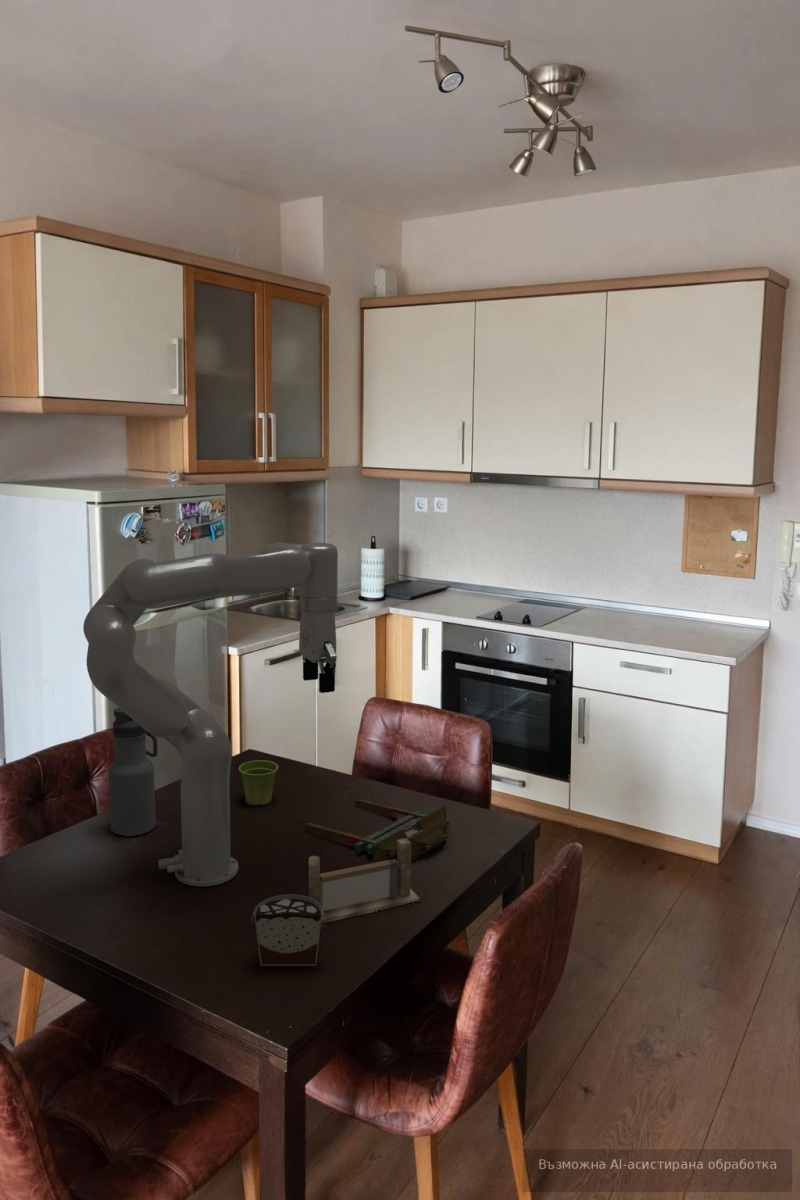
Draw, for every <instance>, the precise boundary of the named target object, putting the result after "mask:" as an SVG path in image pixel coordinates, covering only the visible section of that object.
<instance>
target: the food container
mask: <svg viewBox="0 0 800 1200" xmlns="http://www.w3.org/2000/svg"><path fill="white" fill-rule="evenodd" d="M322 916H323V919H324V923H323V924H326V923H325V917H324V912H323V909H322V907H321V905H320V904H319V903H318V902H317V901H316V900H314V899H312V898H310V897H309V896H306V895H302V894H281V895H280V894H279V895H275V896H272V897H269V898H267V899H264V900H263V901H261V902H260V903H259V904H258V905H256V906H255V908H254V911H253V914H252V917H251V922H250V923H253V922H254V924H255V934H256V939H257V948H258V956H259V964H260V966H262V967H263V966H264V967H267V966H268V967H277V966H279V967H283V966H284V967H286V966H287V967H289V966H290V967H292V966H293V967H297V966H298V967H299V966H300V967H301V966H302V967H305V966H306V967H307V966H308V967H309V966H310V967H313V966H315V967H316V966H317V962H318V954H319V944H320V936H321V927H322V924H321V921H322Z"/></svg>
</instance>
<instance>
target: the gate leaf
mask: <svg viewBox="0 0 800 1200" xmlns="http://www.w3.org/2000/svg"><path fill="white" fill-rule="evenodd" d="M397 868H398V862H397V859H395V858H391V859H389V860H387V861H382V862H377V863H373V862H372V863H368V864H362V865H358V866H352V867H348V868H347V867H346V868H343V869H337V870H332V871H326V872H322V873H321V872H320V905H321V907H322V909H323V911H326V910H330V909H335V908H340V907H344V906H349V905H353V904H358V903H363V902H367V901H372V900H377V899H381V898H386V897H393V896H397Z"/></svg>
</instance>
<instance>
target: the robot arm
mask: <svg viewBox="0 0 800 1200" xmlns="http://www.w3.org/2000/svg"><path fill="white" fill-rule="evenodd" d="M338 557H339V555H338V548H337V547H336V546H335V545H334V544H332V543H329V542H327V543H326V542H310V543H305V544H303V543H302V544H300V543H288V542H273V543H271V544H268V545H266V546H264V548H263V549H262V550H261V551H260V553H259V554H255V555H253V554H252V555H230V554H222V553H204V554H201V555H199V554H198V555H193V556H187V557H182V558H176V559H171V560H170V559H169V560H168V559H167V560H164V561H157V562H155V561H153V560H152V559H148V558H147V559H146V558H139V559H136V560H133V561H132V562H130V563H129V564H128V565H126V566H125V567H124V568H123V569H122V571H121V572H120V573H119V574H118V575H117V577H115V579H114V580H113V581H112V583H111V584H110V585H109V586H108V587H107V588H106V590H105V591H104V592H103V594H102V595H101V596H100V597H99V599H98V600H97V601H96V602H95V603H94V605H93V606H92V607H91V608H90V609H89V611H88V613H86V616H85V619H84V621H83V626H82V628H83V634H84V637H85V639H86V641H87V643H88V645H87V652H86V669H87V673H88V676H89V679H90V681H91V683H92V685H93V686H94V687H95V689H96V690H97V691H98V692H99V693H101V695H102V696H104V697H105V698H106V699H107V700H109V701H110V702H112V704H113V705H115V706H116V708H119V709H121V710H122V711H123V712H124V713H126V714H127V715H128V716H129V717H131V718H132V719H133V720H134V721H136V722H137V723H138V724H139V725H140V726H141V727H142V728H143V729H144V730H146V731H147V732H148V733H150V734H152V735H154V736H156V738H163V739H164V740H165V741H167V742H168V743H169V744H171V745H172V747H174V748H175V749H176V751H177V752H178V754H179V755H180V759H181V775H180V809H181V810H180V812H181V814H180V816H181V818H180V820H181V847H182V849H178V854H177V855H176V854H175V855H174V856H173V857H171V858H167V857H166V858H161V859H158V862H157V863H158V869H159V870H165V869H166V871H167V873H174V875H175V879H177V880H178V882H180V883H182V884H185V885H187V886H192V887H211V886H212V887H214V886H218V885H221V884H223V883H227V882H228V881H231V880H232V879H233V878H235V877H236V876H237V875H238V873H239V862H238V861H237V859H235V858H234V857H233V856H231V855H232V854H231V805H230V804H231V801H230V799H231V798H230V774H231V766H232V757H233V755H232V753H233V752H232V750H233V749H232V745H231V741H230V738H229V736H228V735H227V733H226V731H225V730H224V728H223V727H222V726H221V725H220V724H219V723H218V722H217V720H216V719H215V718H213V717H214V716H212V715H211V714H210V713H209V712H208V711H206V710H205V709H204V708H202V707H201V706H200V705H199V704H198V703H197V702H196V701H194V700H193V699H191V698H190V697H189V696H187V694H186V693H184V692H182V690H180V689H179V688H178V687H177V686H175V685H174V684H172V683H171V682H169V681H168V680H165V679H162V678H156V677H154V675H152V674H151V673H150V672H149V671H147V669H146V668H144V667H143V666H141V665H140V664H139V663H138V662H137V661H136V659H135V656H134V650H135V645H136V641H137V633H136V629H135V626H134V625H135V624H136V623H137V622H138V621H139V619H140V618H141V617H142V615H143V614H144V613H145V611H146V610H149V609H150V610H151V609H152V610H153V609H154V610H155V609H161V608H167V607H172V606H176V605H177V606H178V605H181V604H182V605H183V604H187V603H193V602H199V601H204V600H209V599H215V598H229V597H238V596H249V595H250V596H251V595H260V594H267V593H273V592H274V593H275V592H277V591H282V590H289V589H293V588H296V587H298V586H299V594H300V595H299V602H300V604H299V610H300V611H299V612H300V613H301V614H300V620H299V621H300V622H299V640H298V643H299V644H298V653H299V654H300V655H301V656H302V678H303V681H314V680H315V681H316V680H318V692H319V693H320V694H325V693H333V692H335V690H336V667H337V663H336V662H337V658H338V657H337V631H336V630H337V629H336V628H337V626H336V617H335V613H338V569H339V568H338V565H339V564H338V562H339V561H338ZM319 670H320V672H319Z"/></svg>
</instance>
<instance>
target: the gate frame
mask: <svg viewBox="0 0 800 1200" xmlns="http://www.w3.org/2000/svg"><path fill="white" fill-rule="evenodd" d="M320 860H321V857H320V856H319V855H318V856H317V855H311V856H309V857H308V897H310V898H312V899H314V900H316V901H317V902H318V903H319V904H320V874H321V861H320ZM396 861H397V862H398V868H397V896H393V897H386V898H381V899H377V900H372V901H367V902H363V903H358V904H353V905H349V906H344V907H340V908H335V909H330V910H326V911H323V912H324V917H325V923H324V919H323V916H322V921H321V925H322V924H326V923H330V922H335V921H339V920H345V919H348V918H354V917H358V916H363V915H367V914H371V913H375V911H376V912H379V911H378V910H381V911H385V910H388V909H387V908H390V909H392V908H391V907H394V908H396V907H395V906H399V905H403V904H407V903H410V902H414V901H418V900H420V899H421V898H420V897H419V896H418V895H417V894H416V892H415V891H413V890H412V888H411V875H412V872H411V871H412V863H411V842H410V841H409V840H408V839H407V838H405V839H400V840H397V855H396ZM399 907H400V906H399ZM384 909H385V910H384Z"/></svg>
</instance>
